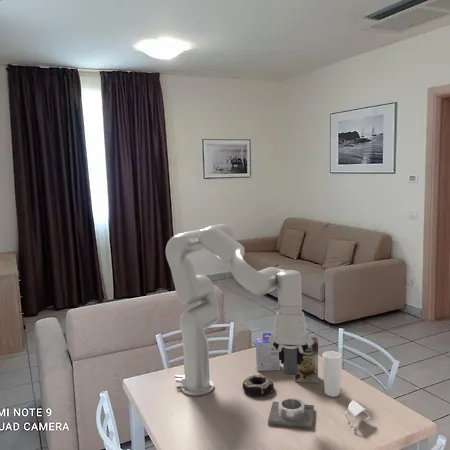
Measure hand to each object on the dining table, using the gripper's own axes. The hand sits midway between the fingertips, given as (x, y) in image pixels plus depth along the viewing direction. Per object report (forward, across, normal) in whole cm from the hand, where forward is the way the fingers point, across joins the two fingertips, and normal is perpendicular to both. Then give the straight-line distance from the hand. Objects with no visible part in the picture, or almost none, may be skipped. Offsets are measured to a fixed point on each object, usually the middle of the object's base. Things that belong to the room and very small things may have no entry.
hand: (291, 362), depth 141 cm
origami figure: (+20, +20, +2) cm, 28 cm away
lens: (+3, 0, 0) cm, 3 cm away
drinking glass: (+19, +13, +18) cm, 29 cm away
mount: (+19, 0, 0) cm, 19 cm away
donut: (+19, -14, +16) cm, 29 cm away
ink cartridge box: (+19, -13, +35) cm, 42 cm away
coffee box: (+19, +3, +28) cm, 34 cm away
